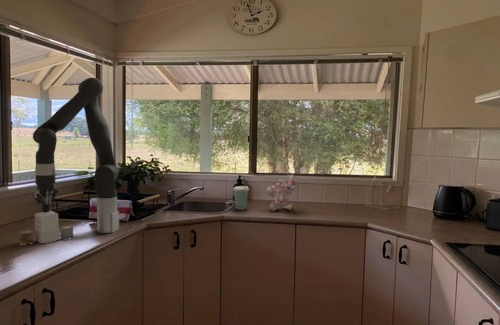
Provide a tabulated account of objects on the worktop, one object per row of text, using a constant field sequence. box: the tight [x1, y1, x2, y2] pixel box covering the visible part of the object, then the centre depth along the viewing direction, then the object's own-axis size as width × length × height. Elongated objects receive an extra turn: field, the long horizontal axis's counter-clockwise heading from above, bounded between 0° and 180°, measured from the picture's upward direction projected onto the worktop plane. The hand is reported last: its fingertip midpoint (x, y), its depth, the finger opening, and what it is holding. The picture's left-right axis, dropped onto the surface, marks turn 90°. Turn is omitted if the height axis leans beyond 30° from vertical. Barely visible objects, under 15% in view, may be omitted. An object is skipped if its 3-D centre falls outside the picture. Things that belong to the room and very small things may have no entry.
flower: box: [264, 172, 297, 212], centre depth 223 cm, size 20×22×25 cm
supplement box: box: [34, 210, 60, 244], centre depth 149 cm, size 7×7×13 cm
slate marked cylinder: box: [60, 225, 74, 240], centre depth 154 cm, size 5×5×5 cm
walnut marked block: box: [18, 229, 35, 246], centre depth 145 cm, size 5×5×5 cm
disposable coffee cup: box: [232, 185, 250, 211], centre depth 222 cm, size 11×11×15 cm
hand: (46, 212), depth 149 cm, fingers closed
